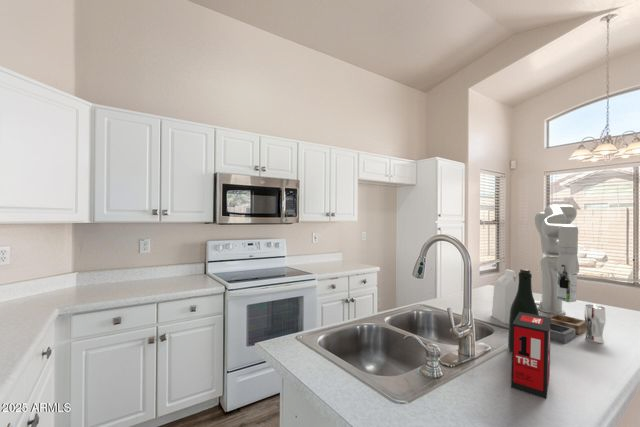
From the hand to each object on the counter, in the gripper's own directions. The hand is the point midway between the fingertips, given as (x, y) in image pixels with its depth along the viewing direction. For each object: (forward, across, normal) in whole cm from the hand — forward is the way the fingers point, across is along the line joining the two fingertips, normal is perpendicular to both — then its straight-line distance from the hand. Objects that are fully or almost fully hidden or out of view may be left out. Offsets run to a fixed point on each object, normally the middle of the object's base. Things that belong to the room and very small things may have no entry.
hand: (566, 286), depth 150 cm
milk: (+21, +12, -20) cm, 31 cm away
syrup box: (+7, 0, 0) cm, 7 cm away
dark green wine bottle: (+20, +50, +2) cm, 54 cm away
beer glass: (+20, +8, +13) cm, 25 cm away
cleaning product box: (+19, +72, +12) cm, 75 cm away
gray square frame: (+20, +18, 0) cm, 27 cm away
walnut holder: (+20, +1, 0) cm, 20 cm away
